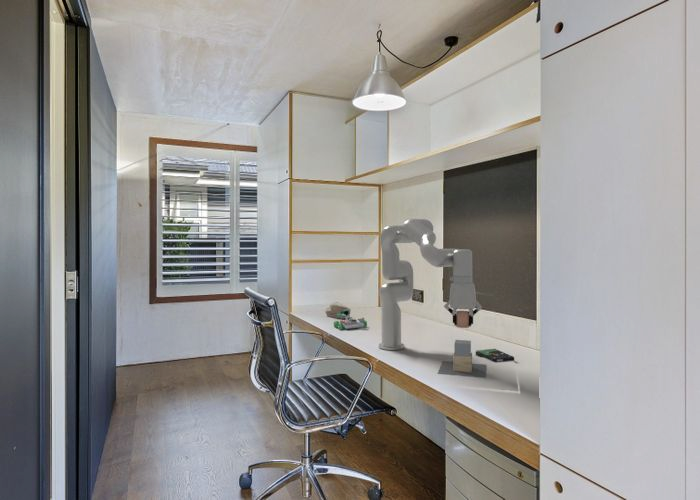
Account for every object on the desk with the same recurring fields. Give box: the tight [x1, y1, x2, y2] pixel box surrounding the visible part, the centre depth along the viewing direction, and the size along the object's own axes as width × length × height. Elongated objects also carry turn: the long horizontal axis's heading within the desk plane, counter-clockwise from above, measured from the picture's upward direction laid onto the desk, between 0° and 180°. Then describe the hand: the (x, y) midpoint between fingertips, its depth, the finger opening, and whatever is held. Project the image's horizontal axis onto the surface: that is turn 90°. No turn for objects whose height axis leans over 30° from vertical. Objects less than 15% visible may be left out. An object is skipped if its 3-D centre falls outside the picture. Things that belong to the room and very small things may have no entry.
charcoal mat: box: [436, 360, 488, 379], centre depth 177 cm, size 18×18×1 cm
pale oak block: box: [452, 352, 473, 372], centre depth 177 cm, size 7×7×6 cm
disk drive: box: [475, 348, 515, 363], centre depth 195 cm, size 10×3×15 cm
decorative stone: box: [325, 302, 351, 320], centre depth 297 cm, size 20×8×10 cm, turn 45°
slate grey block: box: [453, 339, 472, 357], centre depth 176 cm, size 6×6×5 cm
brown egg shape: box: [456, 310, 471, 329], centre depth 176 cm, size 5×5×6 cm
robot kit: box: [333, 310, 368, 331], centre depth 269 cm, size 19×25×9 cm
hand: (462, 324), depth 176 cm, fingers closed on brown egg shape, 5 cm apart
